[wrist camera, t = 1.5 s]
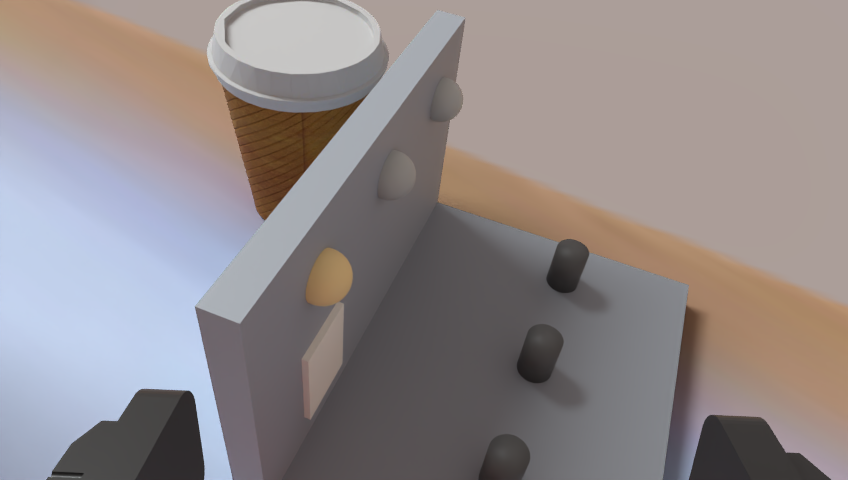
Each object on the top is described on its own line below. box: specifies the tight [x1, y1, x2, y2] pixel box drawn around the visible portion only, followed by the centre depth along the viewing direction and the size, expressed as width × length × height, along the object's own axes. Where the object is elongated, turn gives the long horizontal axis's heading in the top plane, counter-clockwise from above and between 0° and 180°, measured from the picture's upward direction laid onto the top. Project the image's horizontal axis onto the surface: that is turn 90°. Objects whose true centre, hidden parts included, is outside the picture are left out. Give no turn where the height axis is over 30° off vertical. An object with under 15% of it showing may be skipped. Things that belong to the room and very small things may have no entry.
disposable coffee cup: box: [207, 0, 389, 220], centre depth 40 cm, size 10×10×12 cm
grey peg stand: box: [195, 10, 689, 480], centre depth 31 cm, size 17×21×14 cm
